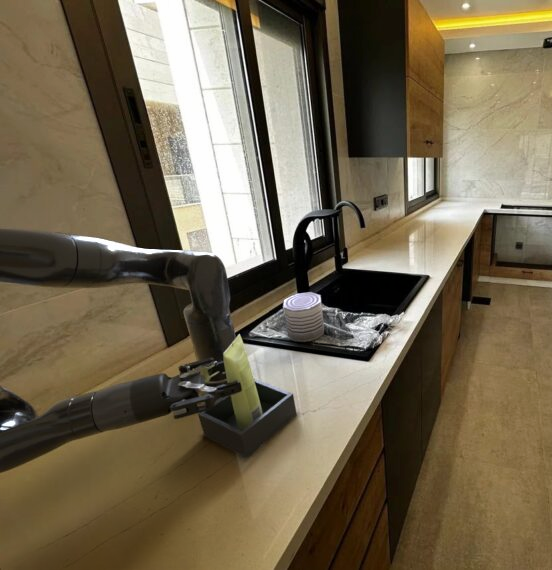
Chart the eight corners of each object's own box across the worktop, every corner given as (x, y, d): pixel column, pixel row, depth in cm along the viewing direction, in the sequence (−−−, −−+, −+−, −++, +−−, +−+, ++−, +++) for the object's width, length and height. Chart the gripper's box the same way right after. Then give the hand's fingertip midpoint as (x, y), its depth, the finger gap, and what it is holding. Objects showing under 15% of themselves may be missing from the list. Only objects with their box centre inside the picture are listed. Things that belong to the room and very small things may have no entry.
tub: (204, 436, 67) (197, 413, 65) (256, 398, 78) (252, 377, 75) (247, 458, 62) (240, 435, 60) (296, 414, 73) (293, 393, 70)
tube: (232, 422, 69) (211, 343, 62) (257, 409, 73) (239, 333, 66) (244, 436, 66) (222, 353, 59) (268, 422, 69) (251, 342, 62)
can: (332, 329, 109) (328, 296, 105) (307, 345, 99) (302, 309, 95) (306, 322, 113) (301, 290, 109) (280, 337, 104) (274, 302, 99)
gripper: (118, 410, 50) (238, 377, 58) (137, 362, 62) (235, 340, 69) (134, 446, 53) (246, 410, 61) (149, 395, 64) (242, 370, 72)
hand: (240, 373), depth 65 cm, fingers open, 8 cm apart
